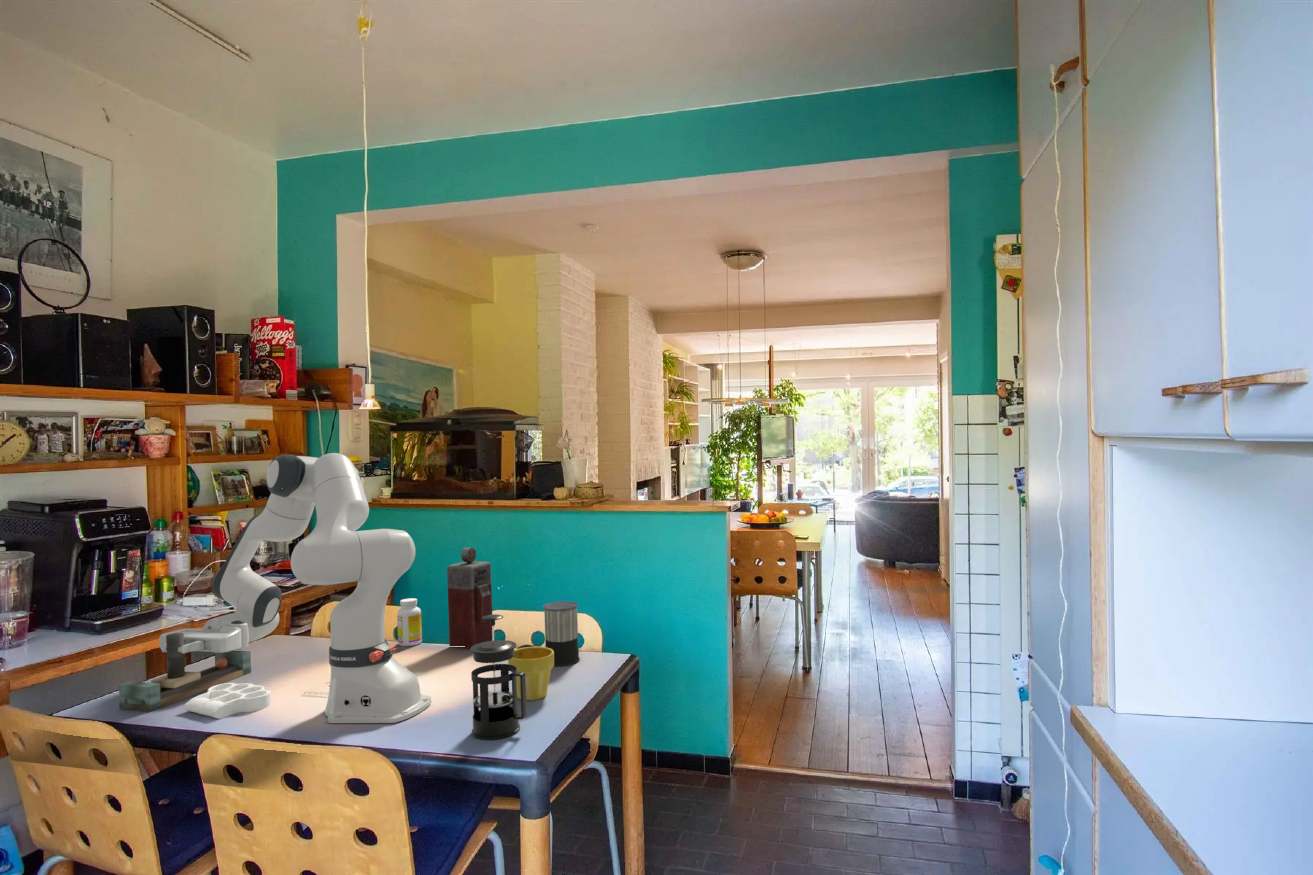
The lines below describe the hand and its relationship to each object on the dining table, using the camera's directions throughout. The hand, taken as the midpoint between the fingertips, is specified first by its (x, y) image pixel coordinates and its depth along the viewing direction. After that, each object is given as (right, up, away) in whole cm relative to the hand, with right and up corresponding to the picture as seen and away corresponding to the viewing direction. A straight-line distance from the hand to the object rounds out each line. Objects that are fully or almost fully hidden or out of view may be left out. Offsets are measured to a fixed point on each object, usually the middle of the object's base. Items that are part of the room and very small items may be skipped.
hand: (172, 649), depth 172 cm
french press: (+84, -8, -28) cm, 89 cm away
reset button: (+4, -9, +13) cm, 16 cm away
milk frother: (+87, -8, +18) cm, 89 cm away
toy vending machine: (+63, -9, +36) cm, 73 cm away
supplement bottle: (+43, -10, +39) cm, 59 cm away
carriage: (+1, -8, +1) cm, 8 cm away
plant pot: (+87, -8, -8) cm, 88 cm away
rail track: (+2, -11, +4) cm, 12 cm away
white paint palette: (+19, -11, -8) cm, 23 cm away
